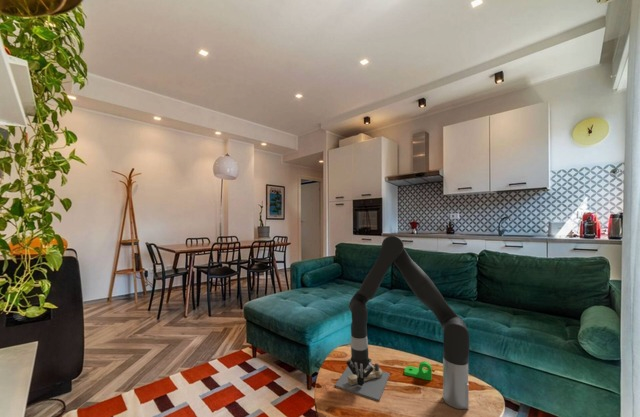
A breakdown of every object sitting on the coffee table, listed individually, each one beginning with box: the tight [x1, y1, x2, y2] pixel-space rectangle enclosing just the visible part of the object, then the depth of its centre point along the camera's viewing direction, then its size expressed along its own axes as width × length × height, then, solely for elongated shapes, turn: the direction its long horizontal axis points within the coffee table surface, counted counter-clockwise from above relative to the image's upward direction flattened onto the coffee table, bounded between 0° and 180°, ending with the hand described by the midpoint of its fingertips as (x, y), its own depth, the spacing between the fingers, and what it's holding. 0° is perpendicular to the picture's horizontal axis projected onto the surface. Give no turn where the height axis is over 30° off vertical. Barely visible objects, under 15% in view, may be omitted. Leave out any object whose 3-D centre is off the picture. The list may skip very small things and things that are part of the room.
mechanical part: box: [404, 361, 433, 382], centre depth 128 cm, size 12×6×8 cm, turn 66°
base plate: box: [334, 366, 391, 402], centre depth 123 cm, size 20×20×1 cm
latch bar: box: [348, 362, 383, 385], centre depth 123 cm, size 17×4×5 cm, turn 114°
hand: (361, 384), depth 118 cm, fingers closed
